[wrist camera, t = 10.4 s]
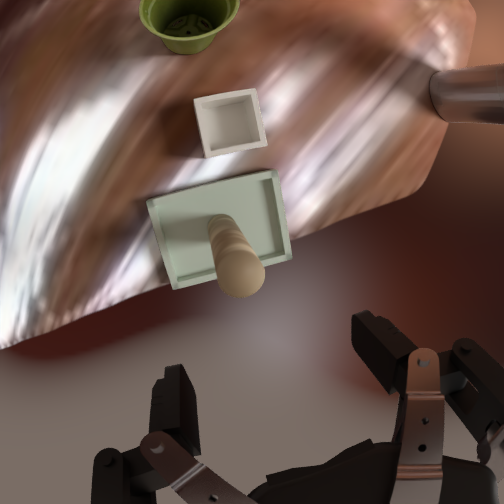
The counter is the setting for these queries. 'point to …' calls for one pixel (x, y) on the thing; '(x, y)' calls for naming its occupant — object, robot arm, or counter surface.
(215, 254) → the dowel
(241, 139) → the white open box
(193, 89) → the counter surface
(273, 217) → the tray
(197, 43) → the plant pot
